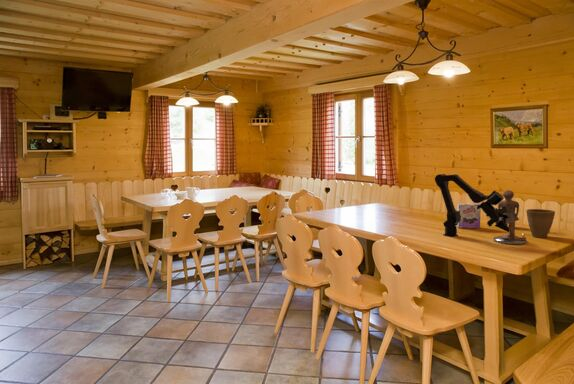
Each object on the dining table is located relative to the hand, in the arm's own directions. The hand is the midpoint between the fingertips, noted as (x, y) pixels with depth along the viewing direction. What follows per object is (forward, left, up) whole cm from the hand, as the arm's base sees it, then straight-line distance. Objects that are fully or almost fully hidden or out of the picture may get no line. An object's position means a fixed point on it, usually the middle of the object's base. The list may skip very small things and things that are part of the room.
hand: (509, 231), depth 239 cm
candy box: (-44, +19, -8) cm, 49 cm away
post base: (-4, +6, -7) cm, 11 cm away
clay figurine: (-31, +42, -7) cm, 53 cm away
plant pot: (-3, +32, -7) cm, 33 cm away
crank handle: (-1, +7, -5) cm, 9 cm away
